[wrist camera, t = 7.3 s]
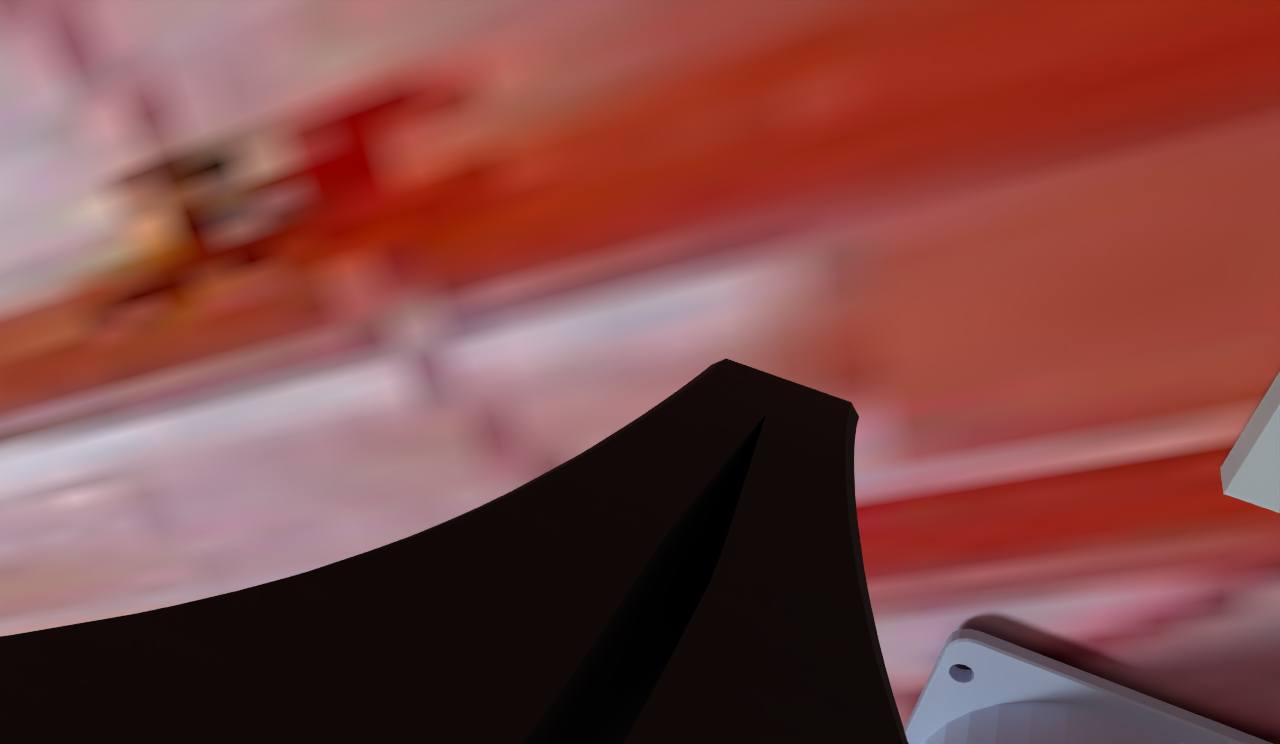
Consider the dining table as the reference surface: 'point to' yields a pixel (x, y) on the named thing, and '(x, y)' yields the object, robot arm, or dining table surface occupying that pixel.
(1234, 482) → the grey board with rod
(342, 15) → the dining table surface
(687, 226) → the dining table surface
